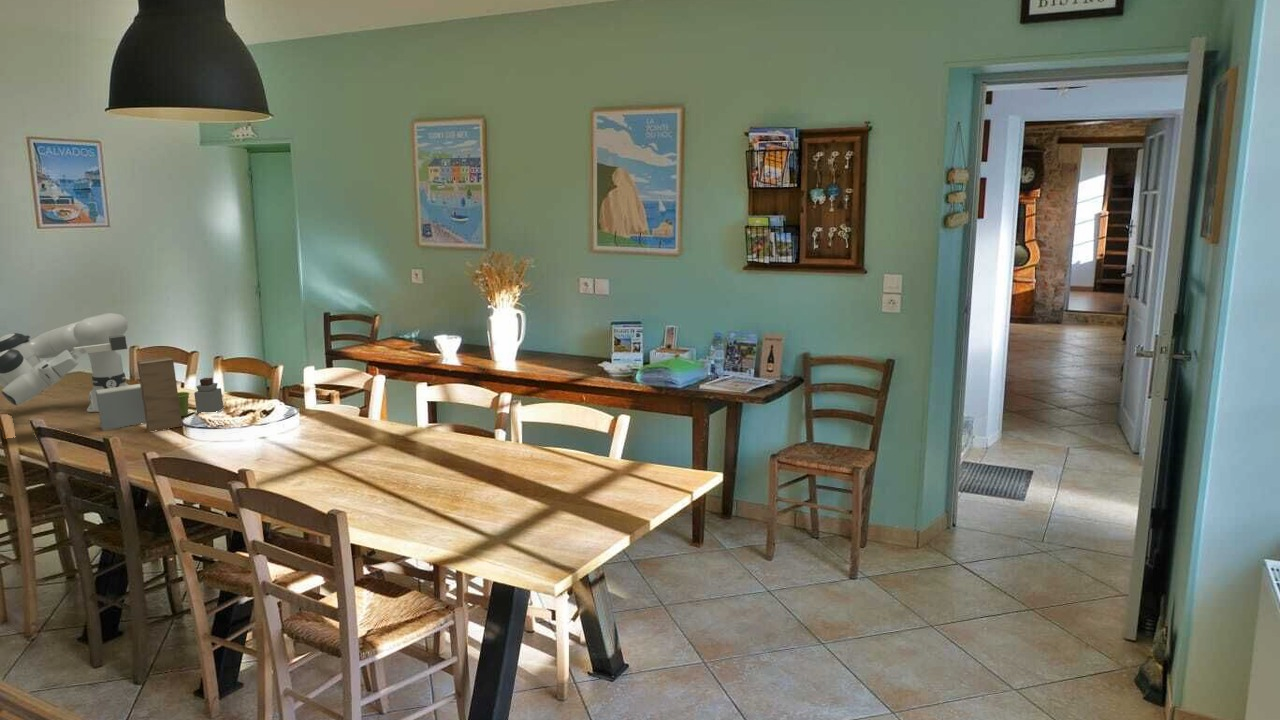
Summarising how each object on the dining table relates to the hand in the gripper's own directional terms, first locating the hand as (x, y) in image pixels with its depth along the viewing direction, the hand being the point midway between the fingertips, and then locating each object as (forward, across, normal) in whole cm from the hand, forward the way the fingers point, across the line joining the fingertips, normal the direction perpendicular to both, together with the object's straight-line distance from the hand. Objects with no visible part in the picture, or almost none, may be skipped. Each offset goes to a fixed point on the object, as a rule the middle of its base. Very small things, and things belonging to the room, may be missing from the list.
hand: (84, 348), depth 344 cm
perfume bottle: (+15, +24, -45) cm, 54 cm away
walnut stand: (+2, +15, -37) cm, 41 cm away
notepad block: (-7, 0, -32) cm, 33 cm away
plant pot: (+9, -1, -42) cm, 43 cm away
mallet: (+4, 0, -4) cm, 5 cm away
